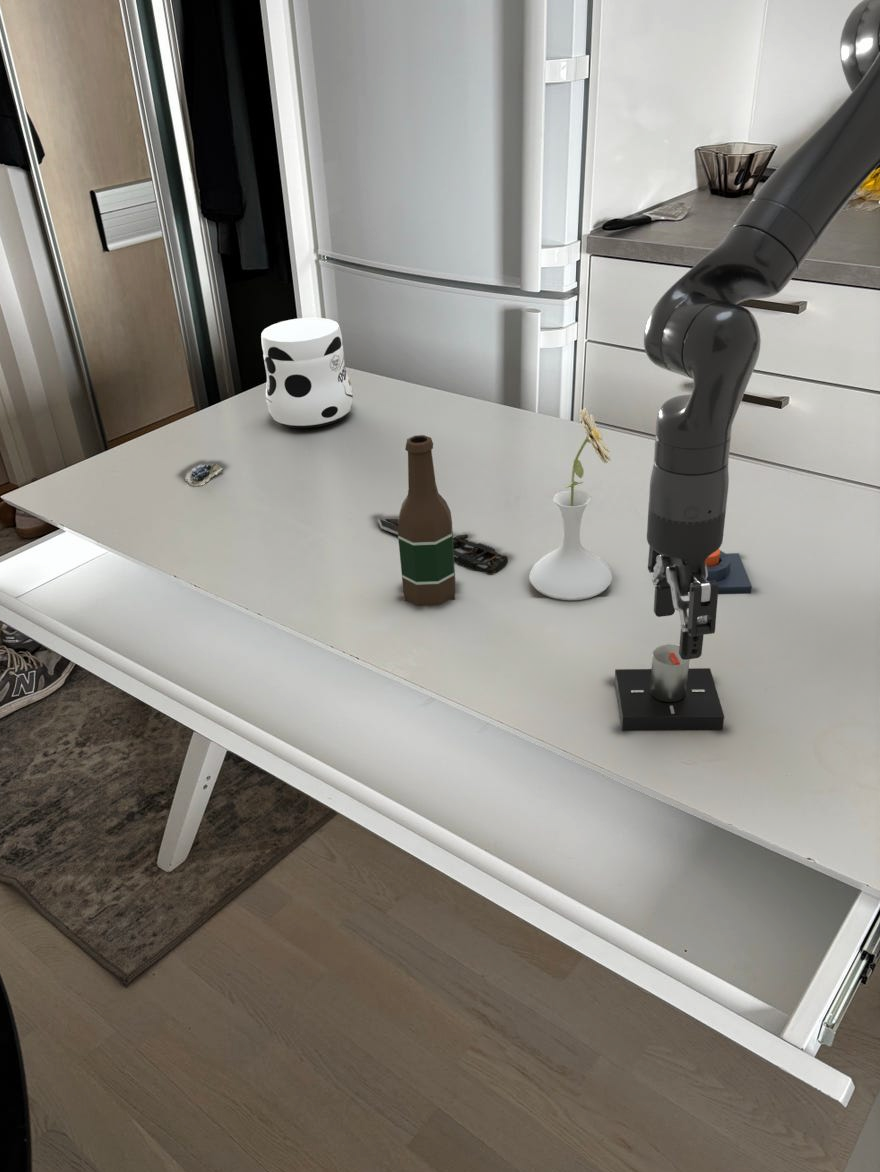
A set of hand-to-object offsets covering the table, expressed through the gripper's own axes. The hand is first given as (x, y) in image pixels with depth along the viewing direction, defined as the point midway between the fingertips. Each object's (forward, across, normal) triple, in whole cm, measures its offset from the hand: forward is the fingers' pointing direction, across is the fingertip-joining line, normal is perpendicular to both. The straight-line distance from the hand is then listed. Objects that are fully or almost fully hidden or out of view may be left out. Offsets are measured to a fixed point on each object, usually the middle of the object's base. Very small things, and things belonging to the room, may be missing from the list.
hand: (676, 635), depth 107 cm
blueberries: (+10, +82, +60) cm, 102 cm away
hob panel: (+11, 0, 0) cm, 11 cm away
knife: (+11, +46, +21) cm, 52 cm away
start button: (+8, +27, -14) cm, 32 cm away
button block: (+11, +27, -14) cm, 33 cm away
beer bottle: (+11, +31, +24) cm, 41 cm away
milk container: (+10, +104, +39) cm, 112 cm away
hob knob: (+8, 0, 0) cm, 8 cm away
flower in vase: (+11, +31, +4) cm, 33 cm away
